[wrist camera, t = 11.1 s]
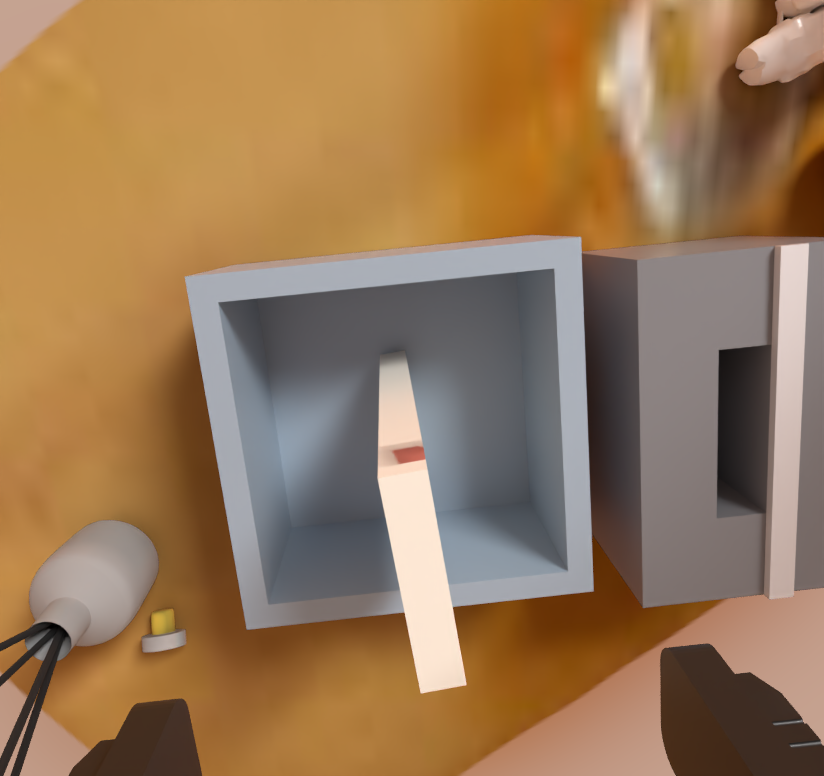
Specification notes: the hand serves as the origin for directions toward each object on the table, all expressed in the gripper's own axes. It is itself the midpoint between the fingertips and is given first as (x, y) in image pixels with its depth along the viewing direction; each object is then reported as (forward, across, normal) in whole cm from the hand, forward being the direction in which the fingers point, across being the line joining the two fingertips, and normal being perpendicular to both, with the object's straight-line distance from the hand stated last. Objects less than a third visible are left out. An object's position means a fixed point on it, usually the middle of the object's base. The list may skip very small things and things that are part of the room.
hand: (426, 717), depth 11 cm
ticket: (+21, 0, +1) cm, 21 cm away
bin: (+22, 0, 0) cm, 22 cm away
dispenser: (+22, -13, +1) cm, 26 cm away
